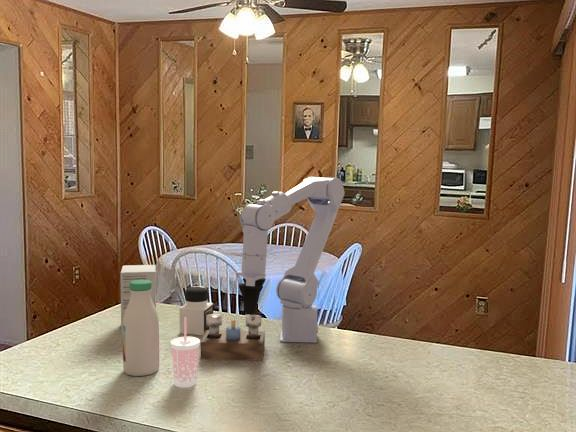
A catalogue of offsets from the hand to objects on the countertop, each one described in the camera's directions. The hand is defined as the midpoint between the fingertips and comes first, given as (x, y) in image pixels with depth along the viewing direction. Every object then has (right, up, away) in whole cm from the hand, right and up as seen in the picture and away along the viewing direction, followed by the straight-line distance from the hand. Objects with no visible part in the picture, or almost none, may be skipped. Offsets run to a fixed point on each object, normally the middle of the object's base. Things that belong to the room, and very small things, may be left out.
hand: (250, 310), depth 129 cm
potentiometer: (-4, -7, 0) cm, 8 cm away
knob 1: (-9, -7, +1) cm, 11 cm away
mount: (-4, -10, +1) cm, 11 cm away
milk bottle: (-23, -12, -11) cm, 28 cm away
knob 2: (+1, -7, +1) cm, 7 cm away
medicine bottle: (-16, -9, +17) cm, 25 cm away
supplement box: (-32, -8, +18) cm, 38 cm away
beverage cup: (-13, -12, -17) cm, 24 cm away
